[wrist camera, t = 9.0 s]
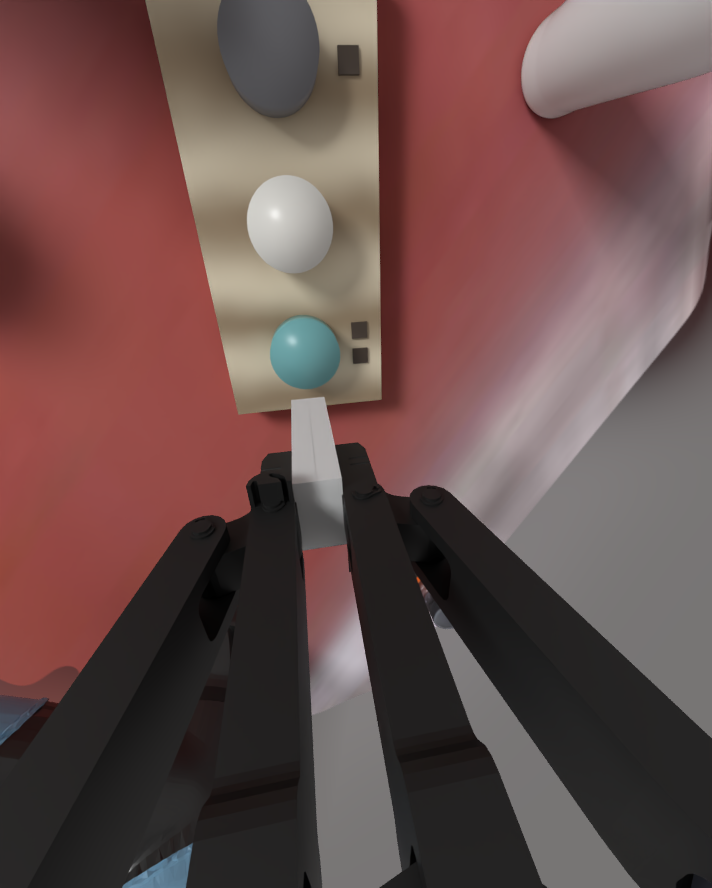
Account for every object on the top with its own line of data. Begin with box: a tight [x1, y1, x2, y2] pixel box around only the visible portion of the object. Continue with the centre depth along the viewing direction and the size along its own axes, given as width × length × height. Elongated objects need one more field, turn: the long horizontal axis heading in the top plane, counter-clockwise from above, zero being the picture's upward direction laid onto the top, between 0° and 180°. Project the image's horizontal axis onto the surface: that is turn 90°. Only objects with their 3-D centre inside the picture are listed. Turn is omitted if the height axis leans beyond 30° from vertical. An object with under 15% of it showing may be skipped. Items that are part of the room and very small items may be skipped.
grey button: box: [217, 0, 320, 118], centre depth 19 cm, size 5×5×2 cm
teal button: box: [270, 315, 340, 389], centre depth 27 cm, size 5×5×2 cm
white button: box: [247, 175, 333, 273], centre depth 23 cm, size 5×5×2 cm
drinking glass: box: [521, 0, 712, 118], centre depth 19 cm, size 7×7×15 cm
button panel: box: [145, 0, 382, 414], centre depth 26 cm, size 26×12×3 cm, turn 3°
